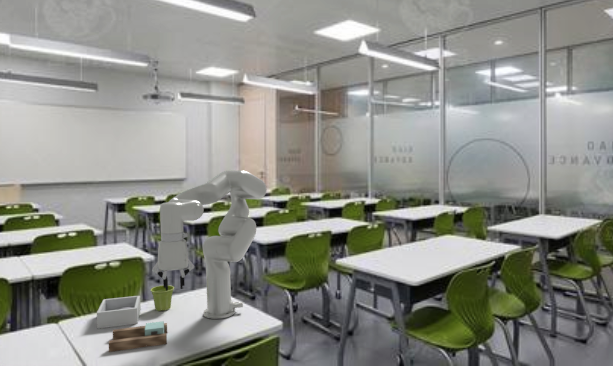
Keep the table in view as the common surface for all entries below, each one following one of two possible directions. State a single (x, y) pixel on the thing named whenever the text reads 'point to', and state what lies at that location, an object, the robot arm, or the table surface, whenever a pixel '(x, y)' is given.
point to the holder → (118, 312)
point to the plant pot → (162, 297)
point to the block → (154, 328)
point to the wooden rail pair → (136, 338)
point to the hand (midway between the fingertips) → (174, 288)
